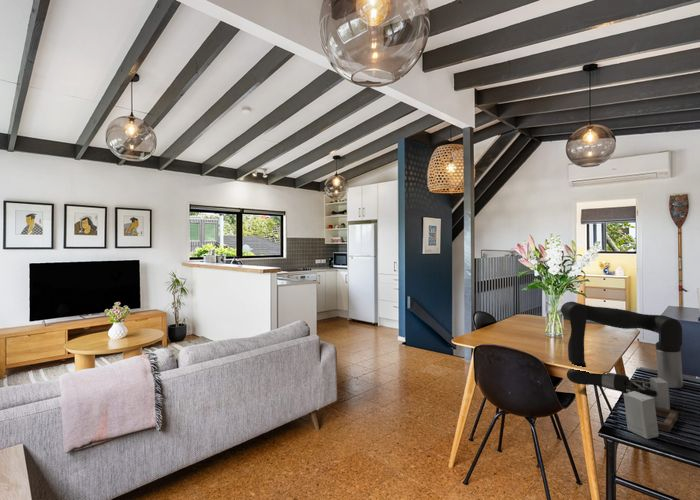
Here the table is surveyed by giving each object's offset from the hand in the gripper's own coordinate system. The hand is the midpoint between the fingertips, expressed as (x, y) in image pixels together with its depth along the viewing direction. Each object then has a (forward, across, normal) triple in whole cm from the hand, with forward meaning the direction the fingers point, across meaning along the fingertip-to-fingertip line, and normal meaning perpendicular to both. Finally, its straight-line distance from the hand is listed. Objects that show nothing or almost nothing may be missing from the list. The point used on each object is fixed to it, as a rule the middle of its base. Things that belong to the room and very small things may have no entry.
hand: (659, 390), depth 164 cm
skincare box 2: (0, 0, +8) cm, 8 cm away
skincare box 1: (0, -28, +8) cm, 29 cm away
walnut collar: (0, -14, +7) cm, 16 cm away
